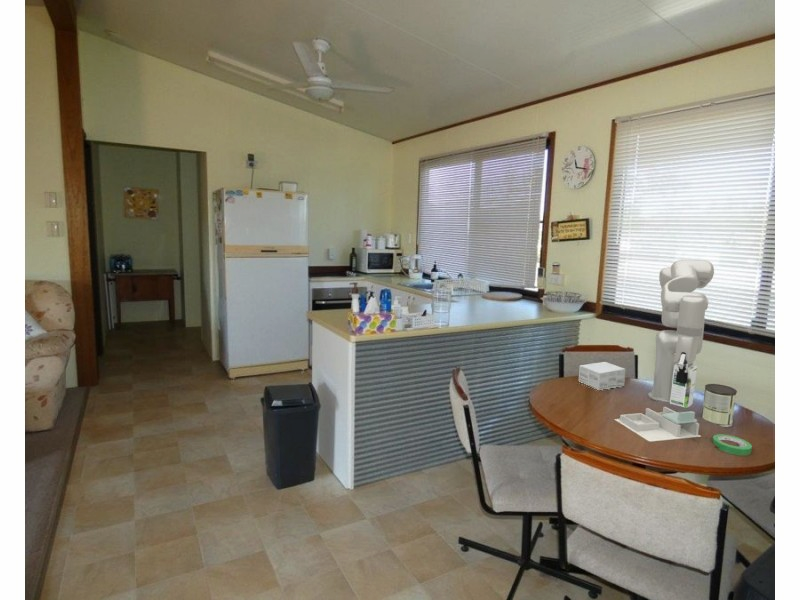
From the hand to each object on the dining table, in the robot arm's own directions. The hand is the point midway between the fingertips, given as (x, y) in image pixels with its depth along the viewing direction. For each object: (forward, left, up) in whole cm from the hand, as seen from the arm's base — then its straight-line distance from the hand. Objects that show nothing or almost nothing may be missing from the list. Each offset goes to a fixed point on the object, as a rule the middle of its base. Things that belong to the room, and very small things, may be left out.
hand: (683, 379), depth 158 cm
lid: (-5, -5, -17) cm, 19 cm away
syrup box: (0, 0, -9) cm, 9 cm away
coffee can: (-29, -11, -23) cm, 39 cm away
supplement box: (-10, -58, -23) cm, 63 cm away
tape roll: (-15, +8, -23) cm, 29 cm away
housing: (+1, -9, -23) cm, 25 cm away
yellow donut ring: (-5, -12, -22) cm, 25 cm away
